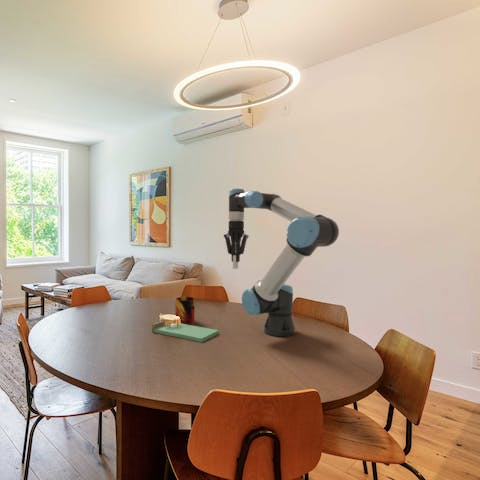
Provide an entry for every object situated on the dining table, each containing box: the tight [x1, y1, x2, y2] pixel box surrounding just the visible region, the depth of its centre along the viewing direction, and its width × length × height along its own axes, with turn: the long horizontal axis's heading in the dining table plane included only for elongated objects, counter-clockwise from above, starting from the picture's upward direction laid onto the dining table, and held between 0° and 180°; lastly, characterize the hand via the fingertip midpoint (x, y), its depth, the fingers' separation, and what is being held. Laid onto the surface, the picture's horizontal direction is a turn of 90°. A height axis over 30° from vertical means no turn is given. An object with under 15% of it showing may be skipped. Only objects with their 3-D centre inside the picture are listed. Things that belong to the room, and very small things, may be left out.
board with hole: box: [151, 320, 220, 343], centre depth 159 cm, size 28×14×4 cm, turn 62°
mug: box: [174, 296, 195, 325], centre depth 177 cm, size 10×14×12 cm
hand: (235, 268), depth 169 cm, fingers closed
